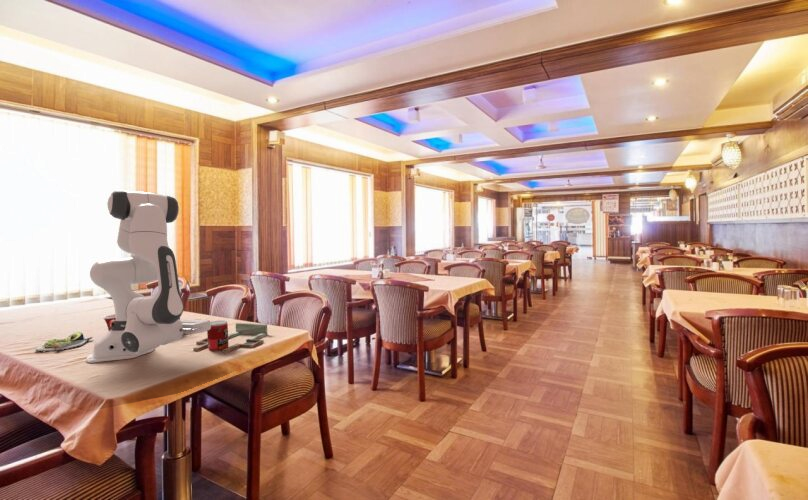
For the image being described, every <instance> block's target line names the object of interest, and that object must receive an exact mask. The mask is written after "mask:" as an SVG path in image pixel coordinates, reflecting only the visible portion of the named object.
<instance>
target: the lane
mask: <svg viewBox="0 0 808 500" xmlns="http://www.w3.org/2000/svg"><path fill="white" fill-rule="evenodd" d="M238 335H242V336H245V335H247V336H249V335H250V336H252V337H248V338H246V339H245V342H244V343H236V344H233V345H230V346H228V348H226V349H223V350H221V351H222V354H229V353H231V352H232V351H235V350H237V349H240V348H246V349H253V348H255V347H259V345H262V344H264V343H265V341H264V339H262V338H263V337H266V336H268V324H267V323H251V322H250V323H245V322H236V323H235V331H234V332H231V333H228V340H229V339H231V338H235V337H236V336H238ZM195 344H196V345H198V346H195V347H193V352H199V351H202V350H204V349H207V348H208V337H205V338H203V339H200V340H198V341H195Z"/></svg>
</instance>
